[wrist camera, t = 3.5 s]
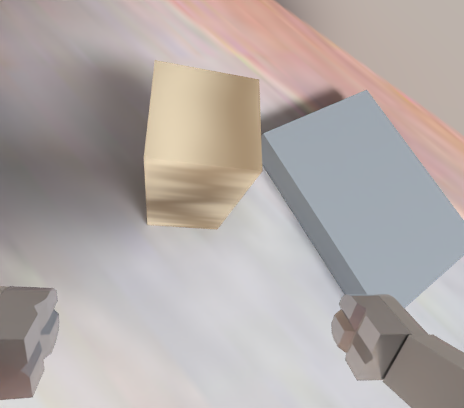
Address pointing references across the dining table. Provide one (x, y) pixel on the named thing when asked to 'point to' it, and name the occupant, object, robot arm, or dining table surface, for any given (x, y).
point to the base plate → (364, 199)
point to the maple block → (200, 145)
